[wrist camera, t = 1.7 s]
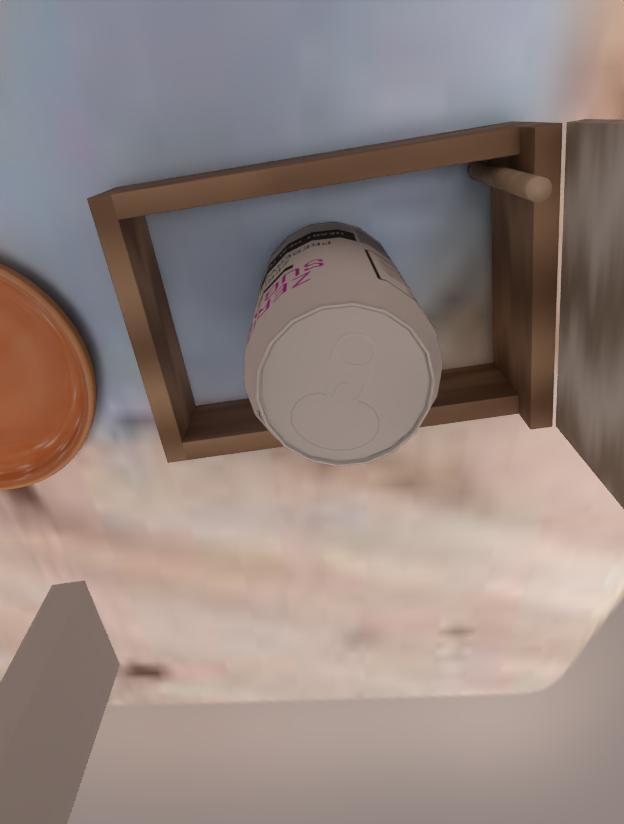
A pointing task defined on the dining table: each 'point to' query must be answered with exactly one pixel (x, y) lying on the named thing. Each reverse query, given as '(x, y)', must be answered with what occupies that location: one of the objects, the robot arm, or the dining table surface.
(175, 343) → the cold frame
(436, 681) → the dining table surface
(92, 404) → the saucer
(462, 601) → the dining table surface
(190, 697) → the dining table surface
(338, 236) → the supplement can
